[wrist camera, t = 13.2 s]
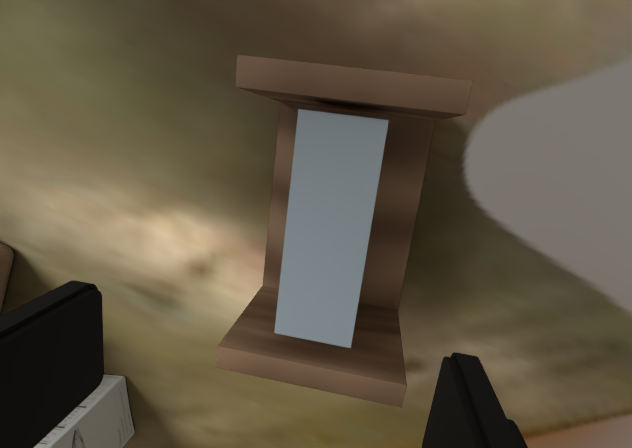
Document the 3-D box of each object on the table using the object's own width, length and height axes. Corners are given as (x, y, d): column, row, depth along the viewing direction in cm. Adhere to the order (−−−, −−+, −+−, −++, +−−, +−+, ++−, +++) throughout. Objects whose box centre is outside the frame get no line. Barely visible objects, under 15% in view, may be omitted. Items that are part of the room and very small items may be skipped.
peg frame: (286, 82, 31) (237, 54, 20) (437, 100, 29) (472, 80, 18) (264, 296, 35) (216, 367, 25) (393, 320, 34) (401, 407, 23)
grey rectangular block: (315, 114, 27) (298, 109, 21) (386, 123, 26) (388, 120, 20) (293, 294, 30) (274, 333, 24) (355, 306, 30) (350, 348, 24)
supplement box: (137, 432, 42) (39, 556, 30) (77, 426, 43) (-41, 543, 31) (127, 373, 40) (19, 478, 28) (65, 369, 41) (-64, 467, 29)
